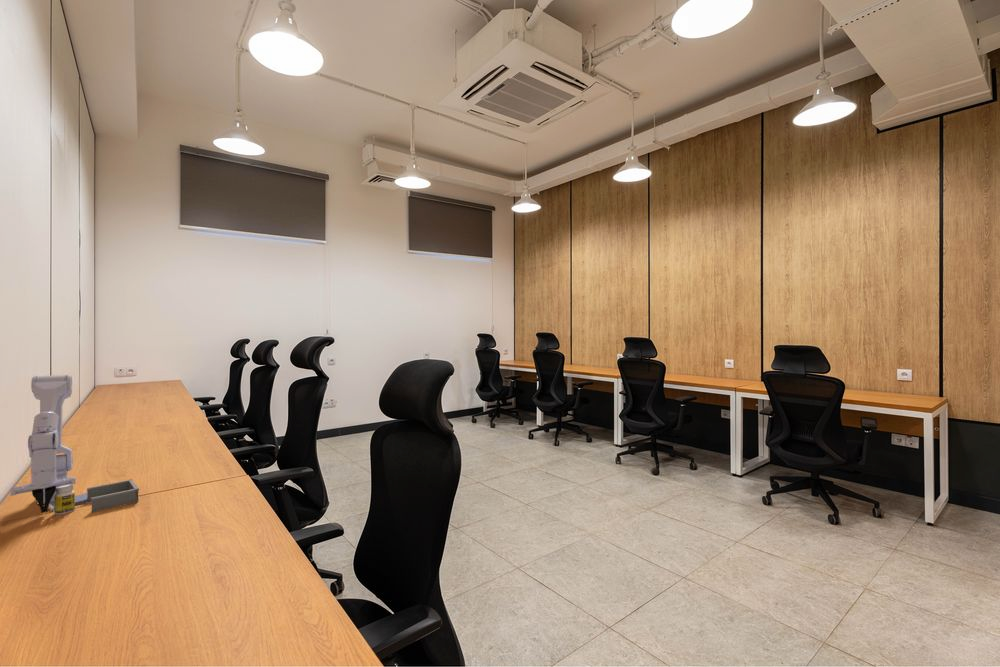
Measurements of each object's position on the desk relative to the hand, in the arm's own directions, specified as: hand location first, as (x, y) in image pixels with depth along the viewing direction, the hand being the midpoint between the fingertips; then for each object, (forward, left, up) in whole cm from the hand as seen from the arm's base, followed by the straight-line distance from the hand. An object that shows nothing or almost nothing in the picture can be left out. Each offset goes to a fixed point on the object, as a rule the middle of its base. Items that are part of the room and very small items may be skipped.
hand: (44, 511), depth 143 cm
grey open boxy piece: (0, +17, -2) cm, 17 cm away
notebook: (-9, +7, -2) cm, 11 cm away
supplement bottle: (0, +5, -2) cm, 5 cm away
